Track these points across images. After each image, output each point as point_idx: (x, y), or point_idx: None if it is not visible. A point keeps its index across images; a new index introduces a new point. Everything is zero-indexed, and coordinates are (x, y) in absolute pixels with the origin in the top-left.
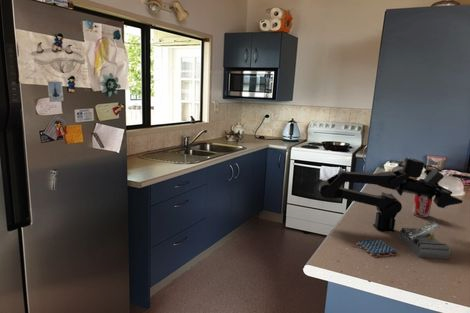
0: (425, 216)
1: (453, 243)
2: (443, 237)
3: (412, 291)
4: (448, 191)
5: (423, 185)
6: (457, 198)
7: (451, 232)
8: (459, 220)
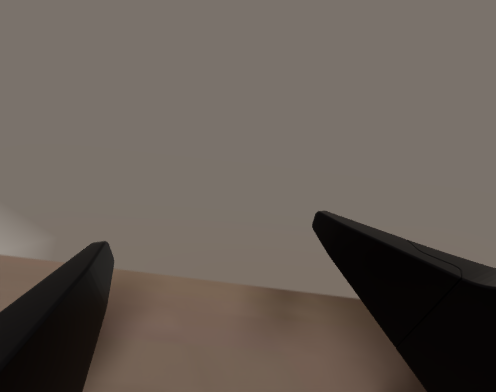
0: None
1: (306, 329)
2: (267, 369)
3: None
4: (94, 279)
5: None
6: (368, 229)
7: (186, 326)
8: (27, 278)
